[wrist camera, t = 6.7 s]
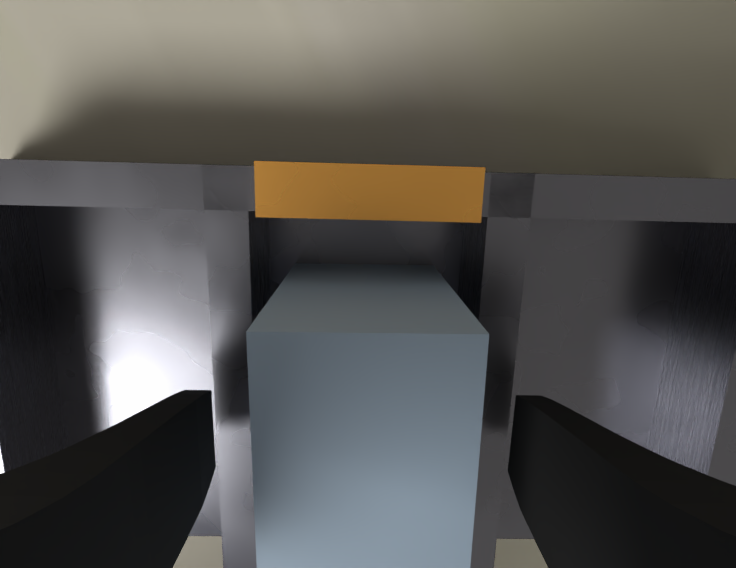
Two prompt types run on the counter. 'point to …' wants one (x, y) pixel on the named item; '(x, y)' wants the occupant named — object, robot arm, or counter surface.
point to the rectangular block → (365, 419)
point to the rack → (365, 246)
